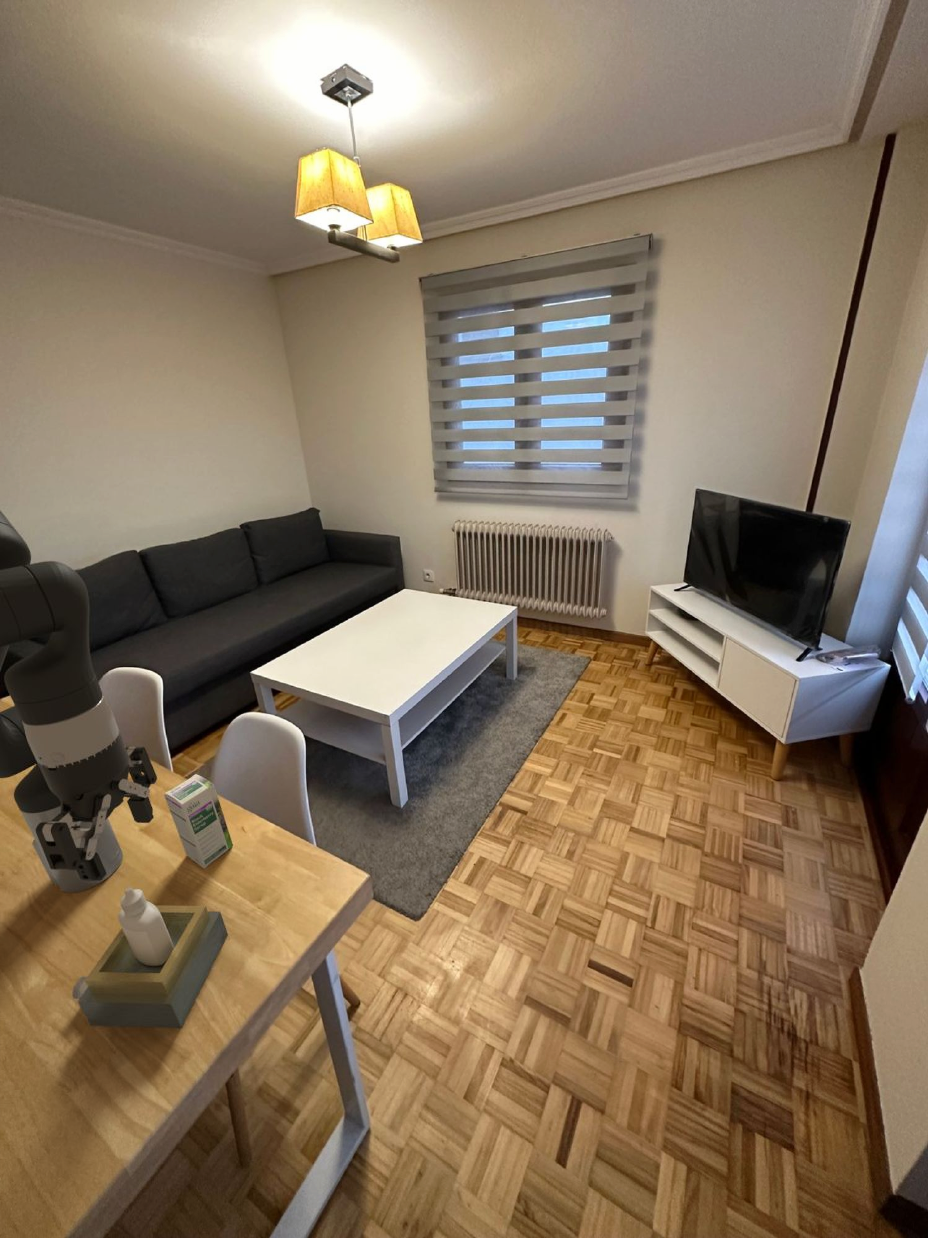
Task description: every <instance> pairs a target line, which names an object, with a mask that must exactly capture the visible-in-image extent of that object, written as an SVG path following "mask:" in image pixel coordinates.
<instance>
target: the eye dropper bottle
mask: <svg viewBox="0 0 928 1238" xmlns="http://www.w3.org/2000/svg"><path fill="white" fill-rule="evenodd" d="M120 907H121V908H122V909H121V910H120V911H119V913H118V916H117V918H118V922H119V924H120V926H121V929H123V931H124V934H125V936H126V938H127V940H128V942H129V945H130V947H131V949H132V951H133V953H134V955H135V957H136V958H137V960H138V961H140V962H141V963H143V964H145V965H149V966H159V965H162V964H163V963H165V961H166V960H167V959H168V958H169V956H170V955H171V953H172V951H173V950H174V945H173V943H172V940H171V938H170V935H169V933H168V930H167V928H166V925H165V923H164V920H163V918H162V916H161V914H160V912H159V910H158V909H157V907H156V906H155V904H153V903H152V902H150V901H148V900H147V899H146V897H145V894H144V892H143V890H142V889H138V888H135V889H133V888H132V887H131V886H130V887H127V888H126V889H125V890H124V895H123V896H122V898H121V899H120Z"/></svg>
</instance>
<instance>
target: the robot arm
mask: <svg viewBox="0 0 928 1238" xmlns="http://www.w3.org/2000/svg"><path fill="white" fill-rule="evenodd" d="M31 560H32V554H31V550H30V547H29V545H28V544H27V542H26V540H24V538H23V537H22V536H21V534H20V533H19V532H18V530H16V528H15V527H14V526H13V524H12V523H11V522H10V521H9V519H8V518H7V517H6V516H5V514H4V513H3V512H2V511H1V510H0V671H1V670H2V667H3V664H4V661H5V658H6V656H7V653H8V650H9V648H10V646H11V645H14V644H17V643H20V642H24V641H27V640H31V639H35V638H39V637H42V636H45V635H49V634H50V637H49V639H48V641H47V643H46V644H45V645H44V646H42V647H41V648H40V649H38V650H36V651H35V652H33V653H31V654H29V655H28V656H26V657H24V658H22V659H20V660H19V661H17V662H15V663H14V664H12V665H11V666H9V668H8V669H7V670H6V671H5V673H4V677H3V679H4V684H5V688H6V690H7V691H8V694H9V696H10V698H11V700H12V702H13V706H10V707H9V708H6V709H3V710H2V711H0V779H8V778H11V777H13V776H16V775H18V774H20V773H22V772H24V771H26V770H27V769H30V768H31V767H33V768H32V769H31V770H30V771H29V772H28V773H27V774H26V775H25V776H24V777H23V778H22V779H21V780H20V781H19V782H18V783H17V785H16V786H15V788H14V791H13V800H14V802H15V803H16V805H17V807H18V809H19V811H20V813H21V816H22V817H23V819H24V821H25V823H26V825H27V826H28V829H29V830H30V833H31V835H32V836H33V837H32V838H34V839H33V841H32V846H33V850H34V851H35V852H36V854H37V856H38V858H39V859H40V863H41V864H42V866H43V868H44V870H45V872H46V873H47V875H48V878H49V879H50V882H51V883H52V884H53V885H58V888H59V889H60V890H61V891H63V892H65V893H79V892H82V891H85V890H88V889H91V888H93V887H95V886H97V885H99V884H101V883H102V882H103V881H105V880H106V879H108V878H109V877H110V876H111V875H112V874H113V873H114V872H115V871H116V870H118V868H119V867H120V865H121V863H122V861H123V858H124V854H123V850H122V848H121V845H120V844H119V841H118V839H117V836H116V834H115V831H114V830H113V827H112V825H111V822H110V820H109V817H110V816H111V815H112V813H113V811H114V810H115V809H116V808H118V807H120V806H121V805H122V803H124V802H125V800H124V798H127V801H126V802H127V806H128V808H129V810H130V813H131V815H132V818H133V821H134V822H135V823H139V824H150V823H151V821H152V820H153V819H154V818H155V817H154V814H153V813H154V809H153V805H152V803H151V800H150V797H149V796H150V793H151V791H150V787H151V786H152V785H155V784H156V782H157V780H158V775H157V773H156V771H155V768H154V767H153V764H152V761H151V758H150V757H149V754H148V752H147V749H146V747H144V746H125V742H124V740H123V737H122V735H121V731H120V729H119V726H118V724H117V721H116V718H115V716H114V713H113V711H112V709H111V706H109V704H108V702H107V700H106V698H105V696H104V694H103V692H102V691H103V690H102V689H101V686H100V683H99V680H98V678H97V676H96V672H95V670H94V667H93V663H92V657H91V652H90V651H91V650H90V649H91V648H90V631H89V630H90V597H89V592H88V588H87V585H86V583H85V581H84V580H83V579H82V577H81V576H80V574H79V573H77V571H76V570H74V569H73V568H72V567H70V566H69V565H68V564H65V563H62V562H60V561H55V560H47V561H40V562H34V563H31ZM129 775H130V778H131V780H132V781H130V780H129Z"/></svg>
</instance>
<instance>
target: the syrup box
mask: <svg viewBox="0 0 928 1238" xmlns="http://www.w3.org/2000/svg"><path fill="white" fill-rule="evenodd" d="M163 795H164V799H165V802H166V805H167V806H168V809H169V812H170V815H171V817H172V820H173V824H174V825H175V828H176V830H177V833H178V836H179V839H180V841H181V845H182V847H183V849H184V852H185V855H186V856H187V857H188V858H189V859H191V860H192V861H193V862H195V863H196V864H197V865H199V866H200V867H202V868H203V869H206V868H208V866H209V865H210V864H211V863H213V862H215V860H216V861H217V859H218V858H220V857H221V856H222V855H223V854H224V853H226V852H227V851H229V850H230V849H231V848H232V847H233V846H234V844H233V841H232V838H231V834H230V832H229V829H228V825H227V822H226V818H225V815H224V812H223V808H222V806H221V802H220V800H219V796H218V793H217V790H216V787H215V785H214V784H213V783H212V782H211V781H209V780H208V779H206V778H205V777H203V776H201V775H198V774H197V773H195V774H194V775H192V776H191V777H190V778H188V779H186V780H184V781H183V782H181V783H180V784H178V785H176V786H175V787H173V788H171V789H170V790H168V791H166V792H165V793H163Z"/></svg>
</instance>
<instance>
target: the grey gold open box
mask: <svg viewBox="0 0 928 1238" xmlns="http://www.w3.org/2000/svg"><path fill="white" fill-rule="evenodd" d="M154 905H155V904H154ZM155 906H156V907H157V909H158V910H159V912H160V914H161V916H162V918H163V920H164V923H165V925H166V928H167V930H168V933H169V935H170V938H171V940H172V943H173V945H174V950H173V951H172V953H171V955H170V956H169V958H168V959H167V960H166V961H165V963H163V964H162V965H159V966H149V965H145V964H143V963H141V962H140V961H138V960H137V958H136V957H135V955H134V953H133V951H132V949H131V947H130V945H129V942H128V940H127V938H126V936H125V934H124V931H123V929H122V928H121V929H120V930H119V932H118V934H117V935H115V937H114V938H113V940H112V942H111V943H110V945H108V947H107V948H106V950H105V952H104V953H103V954H102V955H101V957H100V959H99V960H98V961H97V962H96V964H95V966H94V967H93V968H92V970H91V971H90V973H89V974H88V975H83V976H81V977H80V978H79V979H78V980H77V981H76V983H75V984H74V986H73V989H72V995H71V996H72V998H73V999H74V1000H78V1001H77V1003H78V1006H79V1008H81V1010H82V1012H83V1014H84V1016H85V1017H86V1019H87V1021H88V1023H89V1025H90V1026H91V1027H93V1026H94V1027H98V1026H99V1027H125V1028H126V1027H129V1028H130V1027H132V1028H135V1027H136V1028H167V1029H168V1028H170V1029H174V1028H175V1029H182V1028H183V1026H184V1024H185V1022H186V1020H187V1018H188V1015H189V1014H190V1012H191V1009H192V1008H193V1006H194V1003H195V1002H196V999H197V997H198V996H199V993H200V992H201V989H202V988H203V986H204V983H205V981H206V979H207V978H208V976H209V974H210V971H211V969H212V967H213V966H214V964H215V961H216V959H217V958H218V955H219V953H220V951H221V950H222V947H223V945H224V943H225V942H226V939H227V937H228V935H229V934H228V930H227V927H226V924H225V921H224V919H223V916H222V913H221V911H217V910H216V911H213V910H211V911H210V910H208V909H207V906H206V905H158V904H157V905H155Z"/></svg>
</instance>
